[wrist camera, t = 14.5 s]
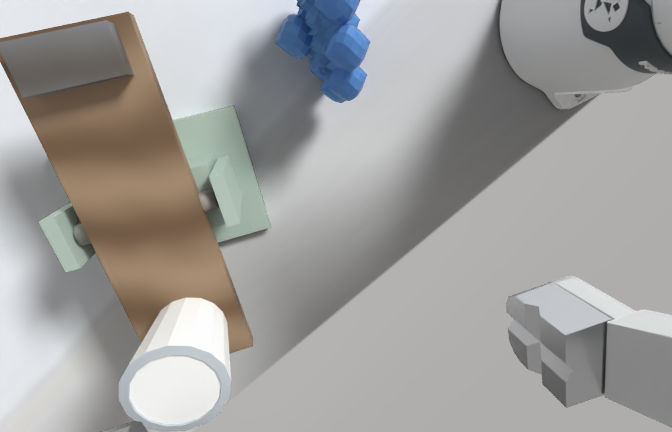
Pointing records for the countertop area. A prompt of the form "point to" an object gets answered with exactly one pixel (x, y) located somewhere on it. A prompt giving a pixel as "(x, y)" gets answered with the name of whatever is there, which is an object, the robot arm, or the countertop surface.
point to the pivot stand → (208, 171)
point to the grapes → (328, 44)
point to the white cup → (179, 368)
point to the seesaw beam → (123, 166)
